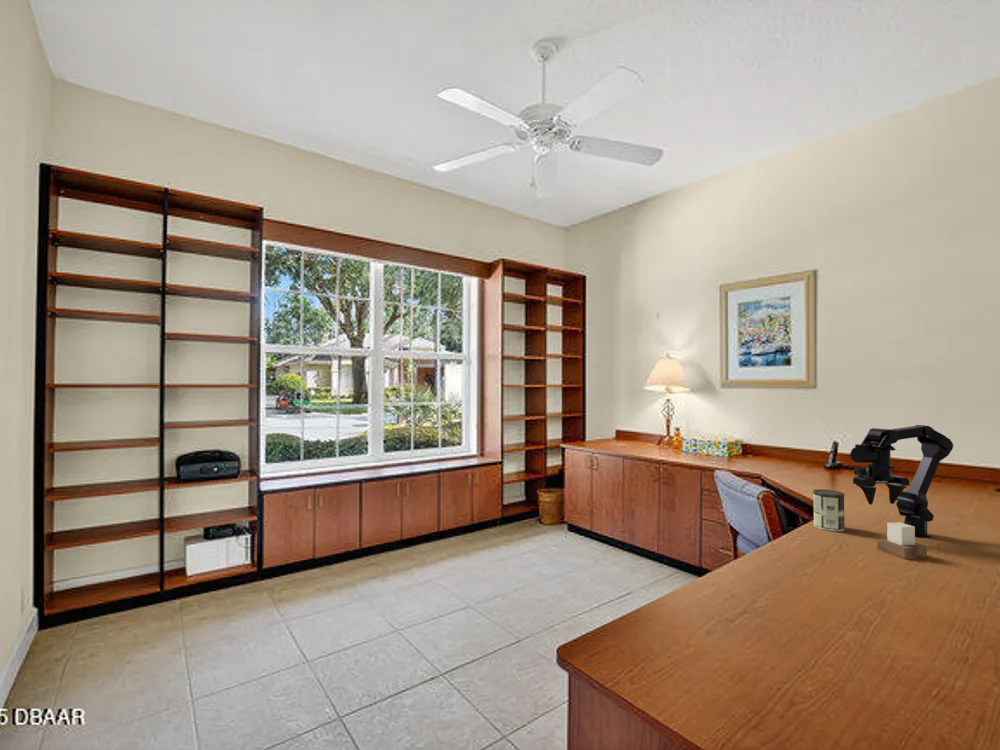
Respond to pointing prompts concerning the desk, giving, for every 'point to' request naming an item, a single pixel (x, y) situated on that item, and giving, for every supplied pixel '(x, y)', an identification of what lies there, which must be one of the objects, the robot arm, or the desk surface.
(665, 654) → the desk surface
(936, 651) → the desk surface
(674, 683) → the desk surface
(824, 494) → the coffee can
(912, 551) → the walnut block
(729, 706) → the desk surface
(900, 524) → the cream block
